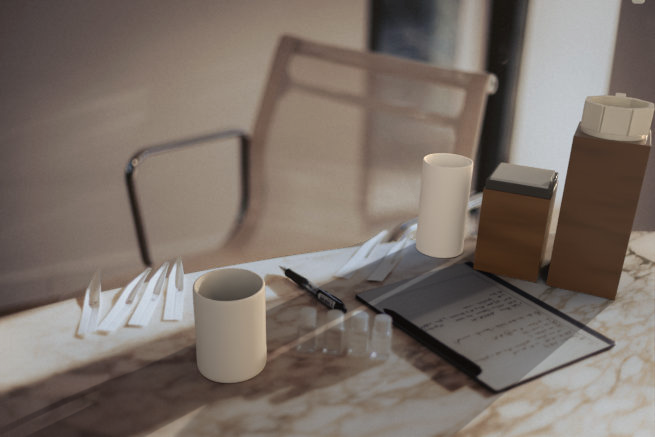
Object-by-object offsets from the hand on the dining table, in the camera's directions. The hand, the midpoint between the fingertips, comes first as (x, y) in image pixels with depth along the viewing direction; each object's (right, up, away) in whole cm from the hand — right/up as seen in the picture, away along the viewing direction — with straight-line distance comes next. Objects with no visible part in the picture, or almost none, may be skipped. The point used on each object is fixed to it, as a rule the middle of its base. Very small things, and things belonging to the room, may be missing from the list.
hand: (637, 1), depth 97 cm
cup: (-29, -39, +12) cm, 50 cm away
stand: (-13, -42, +5) cm, 44 cm away
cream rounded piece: (-4, -19, -1) cm, 20 cm away
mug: (-61, -51, -19) cm, 82 cm away
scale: (-18, -28, +2) cm, 33 cm away
